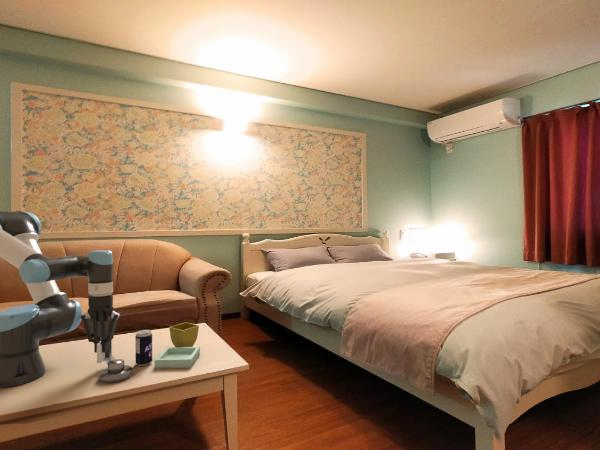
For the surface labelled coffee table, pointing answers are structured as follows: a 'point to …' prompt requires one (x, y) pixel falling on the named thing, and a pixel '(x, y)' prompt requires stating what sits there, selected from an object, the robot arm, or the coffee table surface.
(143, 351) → the beverage can
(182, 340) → the flower pot
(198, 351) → the tray
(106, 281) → the robot arm
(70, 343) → the coffee table surface
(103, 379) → the crank base
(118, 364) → the crank
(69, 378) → the coffee table surface
